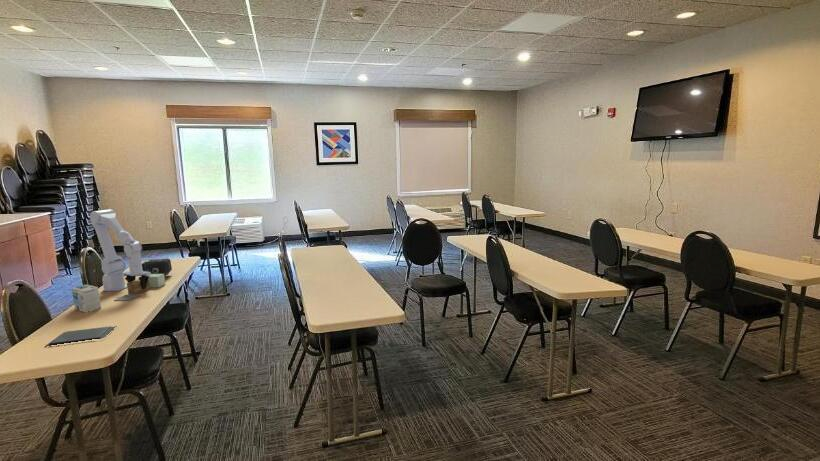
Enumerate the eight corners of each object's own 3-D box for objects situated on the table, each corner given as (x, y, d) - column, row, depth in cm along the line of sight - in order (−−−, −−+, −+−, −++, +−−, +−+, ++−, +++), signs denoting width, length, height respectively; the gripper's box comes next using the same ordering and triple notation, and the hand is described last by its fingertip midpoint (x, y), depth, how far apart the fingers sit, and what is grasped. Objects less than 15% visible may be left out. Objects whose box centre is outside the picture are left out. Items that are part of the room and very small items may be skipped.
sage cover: (159, 287, 229) (157, 276, 228) (143, 287, 230) (142, 276, 229) (165, 284, 234) (164, 273, 233) (150, 284, 235) (149, 273, 234)
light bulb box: (74, 309, 197) (70, 288, 195) (90, 304, 203) (86, 284, 201) (86, 313, 192) (82, 291, 190) (102, 308, 198) (98, 286, 196)
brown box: (128, 294, 218) (126, 283, 217) (140, 288, 227) (139, 278, 226) (138, 294, 218) (136, 283, 217) (149, 288, 226) (148, 278, 225)
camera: (173, 275, 255) (145, 275, 251) (172, 257, 254) (145, 257, 249) (168, 280, 245) (139, 280, 241) (168, 261, 244) (139, 261, 239)
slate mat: (114, 300, 208) (114, 300, 208) (126, 295, 216) (126, 294, 216) (128, 300, 207) (128, 300, 207) (140, 295, 215) (140, 294, 215)
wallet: (41, 345, 156) (63, 329, 170) (42, 349, 156) (64, 333, 171) (101, 338, 161) (118, 323, 175) (102, 342, 161) (119, 327, 176)
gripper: (116, 266, 216) (120, 291, 219) (142, 266, 215) (146, 291, 218) (127, 263, 223) (130, 286, 226) (152, 263, 222) (155, 287, 224)
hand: (139, 288), depth 222 cm, fingers open, 5 cm apart
